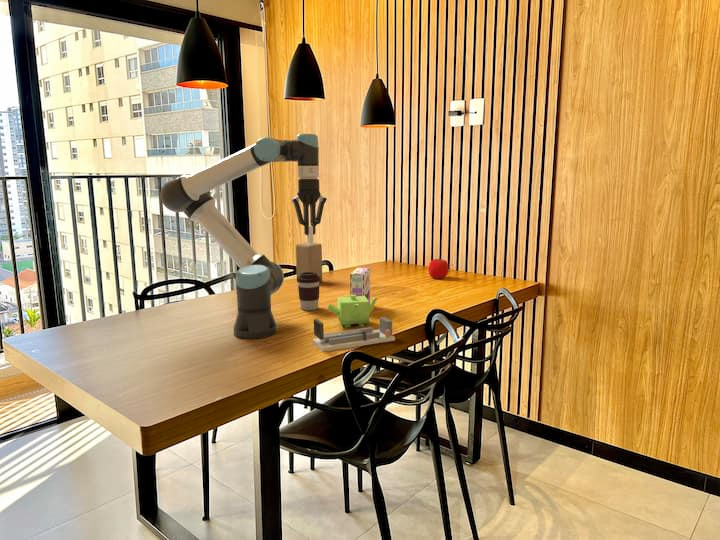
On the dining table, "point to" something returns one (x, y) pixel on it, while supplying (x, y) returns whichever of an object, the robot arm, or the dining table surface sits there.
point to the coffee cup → (308, 290)
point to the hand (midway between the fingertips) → (310, 243)
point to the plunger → (325, 338)
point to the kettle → (353, 310)
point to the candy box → (360, 282)
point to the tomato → (438, 268)
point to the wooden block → (309, 258)
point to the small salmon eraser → (387, 333)
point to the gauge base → (358, 337)
